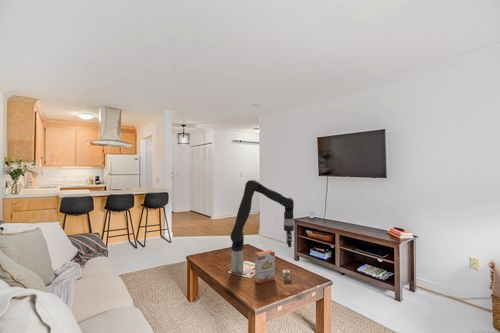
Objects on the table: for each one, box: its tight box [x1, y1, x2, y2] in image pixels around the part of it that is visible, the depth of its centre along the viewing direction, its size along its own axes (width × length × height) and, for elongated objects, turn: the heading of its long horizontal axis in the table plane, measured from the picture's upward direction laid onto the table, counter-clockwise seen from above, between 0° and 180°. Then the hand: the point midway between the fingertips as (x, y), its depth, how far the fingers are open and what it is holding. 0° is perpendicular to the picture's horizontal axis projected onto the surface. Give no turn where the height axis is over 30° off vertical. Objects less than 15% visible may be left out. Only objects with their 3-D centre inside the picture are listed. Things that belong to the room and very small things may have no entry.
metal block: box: [282, 269, 291, 282], centre depth 194 cm, size 5×5×6 cm
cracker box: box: [254, 249, 276, 284], centre depth 192 cm, size 14×6×21 cm, turn 117°
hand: (288, 245), depth 200 cm, fingers open, 8 cm apart
